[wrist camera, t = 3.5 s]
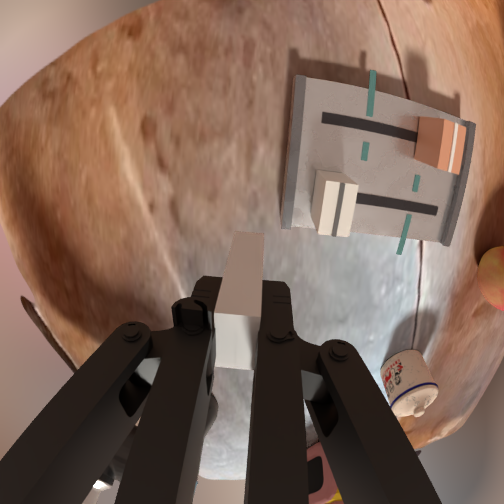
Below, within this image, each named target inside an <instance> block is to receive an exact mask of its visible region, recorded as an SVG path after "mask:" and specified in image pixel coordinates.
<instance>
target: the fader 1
mask: <svg viewBox="0 0 504 504" xmlns="http://www.w3.org/2000/svg"><path fill="white" fill-rule="evenodd" d="M358 186H359V185H358V184H357V183H356V182H354V181H353V180H352V179H351V178H349V177H348V176H347V175H346V174H344V173H337V172H330V171H322V170H316V178H315V185H314V193H313V200H312V207H311V214H310V216H311V218H312V221H313V223H314V226H315V228H316V231H317V233H318V234H323V235H332V236H335V237H336V236H344V237H349V233H350V228H351V224H352V219H353V213H354V208H355V203H356V197H357V192H358Z"/></svg>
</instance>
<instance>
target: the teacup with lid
mask: <svg viewBox="0 0 504 504" xmlns="http://www.w3.org/2000/svg"><path fill="white" fill-rule="evenodd" d="M381 378H382V381H383V384H384V387H385V390H386V393H387V396H388V400H389V403H390V407H391V409H392V411H393V413H394V414H395V416H408V415H413V414H414V416H415V417H419V416H421V415H422V414H424V412H425V408H426V407H427V406H428V405H430V404H431V403H432V402H433V401H434V400H435V398H436V397H437V394H438V386H437V384H435V382H434V380H433V378H432V376H431V373H430V371H429V369H428V367H427V365H426V363H425V361H424V359H423V356H422V354H421V353H420V352H419V351H417V350H405V351H402V352H399V353H397V354H395V355H394V356H392V357H391V358H390V359H388V360H387V361H386V362H385V364H384V365H383V366H382V368H381Z"/></svg>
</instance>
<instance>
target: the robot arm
mask: <svg viewBox="0 0 504 504" xmlns="http://www.w3.org/2000/svg"><path fill="white" fill-rule="evenodd" d="M263 250H264V233H251V232H239V231H235V233H234V237H233V241H232V245H231V248H230V252H229V256H228V260H227V264H226V267H225V271H224V275H223V277H212V276H203V277H202V278H200V279H199V280H198V281H197V282H196V284H195V287H194V291H193V292H192V295H191V297H187V298H183V299H180V300H178V301H177V302H175V303H174V304H173V306H172V307H171V308H172V316H173V323H174V327H173V328H171V329H168V330H163V331H152V332H151V331H150V329H149V328H148V326H147V325H145V324H143V323H141V322H128V323H125V324H122V325H121V326H119V327H118V328H117V329H116V330H115V331H114V332H113V333H112V334H111V335H110V336H109V337H108V338H107V339H106V340H105V341H104V342H103V343H102V345H101V346H100V347H99V348H98V349H97V350H96V351H95V352H94V353H93V354H92V355H91V356H90V357H89V358H88V359H87V361H86V362H85V363H84V364H83V365H82V366H81V367H80V368H79V369H78V370H77V371H76V373H75V374H74V375H73V376H72V377H71V378H70V379H69V380H68V381H67V383H66V384H65V385H64V386H63V387H62V388H61V389H60V390H59V392H58V393H57V394H56V395H55V396H54V397H53V398H52V399H51V400H50V402H49V403H48V404H47V405H46V406H45V407H44V409H43V410H42V411H41V412H40V413H39V414H38V416H37V417H36V418H35V419H34V420H33V421H32V423H31V424H30V425H29V426H28V427H27V429H26V430H25V431H24V432H23V433H22V435H21V436H20V437H19V439H17V441H16V442H15V443H14V444H13V446H12V447H11V448H10V449H9V451H8V452H7V453H6V454H5V456H4V457H3V458H2V459H1V461H0V504H96V503H97V500H98V497H99V494H100V492H101V491H103V490H106V489H109V488H112V485H113V482H114V480H118V481H120V486H119V489H118V493H117V496H116V500H115V503H114V504H192V502H193V497H194V493H195V489H196V485H197V484H198V481H197V480H198V474H199V467H200V461H201V454H202V448H203V442H204V438H205V436H206V435H207V433H208V431H209V430H210V428H211V426H212V425H213V423H214V421H215V419H216V417H217V412H218V403H217V401H216V400H215V398H214V397H213V396H212V395H211V391H212V386H213V380H214V365H215V366H216V367H225V368H235V369H246V370H254V377H253V386H252V403H251V417H250V431H249V444H248V458H247V471H246V483H245V496H244V504H309V490H308V465H307V446H306V429H305V414H304V400H305V403H306V406H307V409H308V411H309V414H310V417H311V419H312V422H313V424H314V427H315V430H316V432H317V435H318V438H319V440H320V443H321V445H322V448H323V451H324V453H325V456H326V458H327V461H328V464H329V466H330V469H331V471H332V474H333V477H334V479H335V482H336V485H337V487H338V490H339V492H340V495H341V498H342V500H343V503H344V504H442V503H441V501H440V499H439V497H438V495H437V493H436V491H435V489H434V487H433V485H432V483H431V481H430V479H429V477H428V475H427V473H426V471H425V469H424V467H423V466H422V464H421V462H420V460H419V458H418V456H417V454H416V452H415V451H414V449H413V447H412V445H411V443H410V441H409V440H408V438H407V436H406V434H405V432H404V431H403V429H402V427H401V425H400V423H399V422H398V420H397V418H396V416H395V414H394V413H393V411H392V409H391V407H390V406H389V404H388V402H387V401H386V399H385V397H384V395H383V394H382V392H381V390H380V388H379V387H378V385H377V383H376V382H375V380H374V378H373V377H372V375H371V373H370V371H369V370H368V368H367V366H366V365H365V363H364V361H363V360H362V358H361V356H360V355H359V353H358V352H357V350H356V349H355V348H354V346H353V345H351V344H350V343H348V342H346V341H343V340H339V339H332V340H329V341H326V342H324V343H323V344H322V345H321V346H318V345H314V344H311V343H308V342H306V341H304V340H302V339H301V338H300V337H299V336H298V335H297V333H296V331H295V330H294V326H293V315H292V305H291V295H290V288H289V287H288V286H287V284H286V283H285V282H281V281H268V280H262V277H263ZM303 399H304V400H303ZM140 417H141V418H140ZM139 418H140V421H139V424H138V426H136V425H135V424H136V423H137V421H138V420H139Z"/></svg>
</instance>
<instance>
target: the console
mask: <svg viewBox="0 0 504 504" xmlns="http://www.w3.org/2000/svg"><path fill="white" fill-rule="evenodd" d="M375 86H376V71H374V70H370V77H369V89H367V88H363V87H358V86H353V85H349V84H344V83H338V82H333V81H327V80H321V79H314V78H307V77H306V76H304V75H295V77H294V78H293V83H292V96H291V108H290V120H289V132H288V143H287V154H286V164H285V175H284V185H283V194H282V204H281V213H280V221H281V229H290V230H291V226H295V227H306V228H315V226H314V223H313V221H312V218H311V216H310V214H311V207H312V200H313V193H314V185H315V178H316V170H322V171H330V172H337V173H344V174H346V175H347V176H348V177H349V178H351V179H352V180H353V181H354V182H356V183H357V184H358V185H359V186H358V192H357V197H356V203H355V208H354V213H353V219H352V224H351V228H350V232H356V233H366V234H375V235H384V236H392V237H401V239H400V243H399V246H398V250H397V253H396V254H399V255H401V254H402V251H403V247H404V244H405V240H406V238H409V239H417V240H425V241H433V242H440V243H441V244H442V245H443V246H450V243H451V240H452V237H453V233H454V230H455V227H456V223H457V220H458V216H459V212H460V209H461V205H462V201H463V197H464V192H465V188H466V183H467V178H468V173H469V168H470V163H471V157H472V151H473V144H474V136H475V128H476V124H475V123H473V122H470V121H465V120H463V119H460V118H458V117H455V116H453V115H451V114H448V113H445V112H443V111H440V110H437V109H435V108H432V107H429V106H426V105H423V104H420V103H417V102H414V101H411V100H408V99H404V98H401V97H398V96H394V95H391V94H387V93H383V92H379V91H375ZM420 116H423V117H433V118H442V119H446V120H449V121H451V122H454V123H457V124H459V125H462V126H464V127H466V135H465V142H464V149H463V155H462V161H461V167H460V172H459V175H458V174H455V173H451V172H448V171H444V170H441V169H437V168H435V167H432V166H430V165H428V164H425V163H423V162H420V161H417V160H415V159H414V157H415V151H416V144H417V137H418V129H419V121H420Z"/></svg>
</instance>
